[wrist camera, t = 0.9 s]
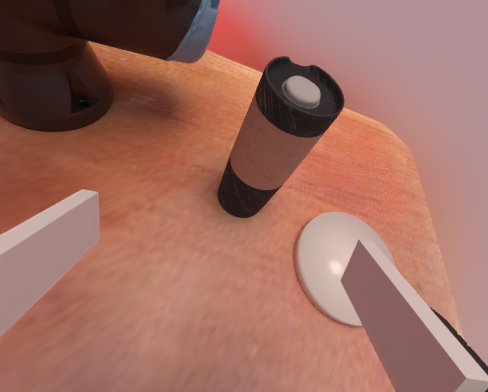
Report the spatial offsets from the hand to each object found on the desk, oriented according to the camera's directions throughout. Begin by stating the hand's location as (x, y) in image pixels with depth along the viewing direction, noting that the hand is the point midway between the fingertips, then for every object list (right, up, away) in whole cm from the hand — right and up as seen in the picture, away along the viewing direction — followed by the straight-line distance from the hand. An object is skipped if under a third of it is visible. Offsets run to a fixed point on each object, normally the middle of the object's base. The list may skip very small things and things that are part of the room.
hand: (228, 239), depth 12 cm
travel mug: (0, +2, +25) cm, 25 cm away
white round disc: (+16, -8, +24) cm, 30 cm away
